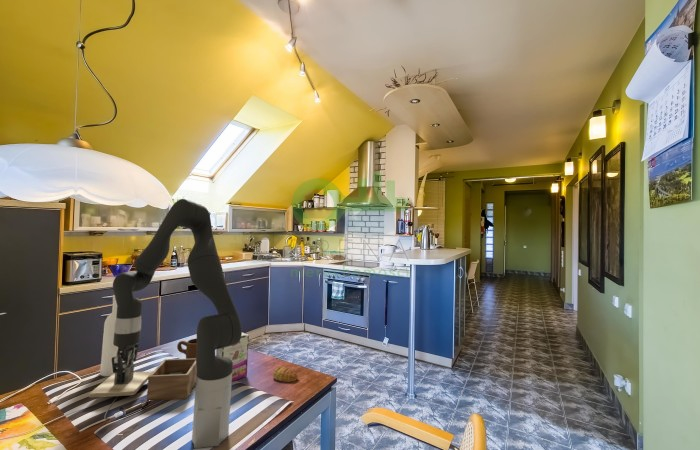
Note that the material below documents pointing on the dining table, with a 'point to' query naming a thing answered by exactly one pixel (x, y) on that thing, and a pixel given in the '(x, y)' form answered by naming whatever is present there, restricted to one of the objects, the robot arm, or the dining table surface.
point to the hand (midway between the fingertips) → (123, 379)
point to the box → (172, 380)
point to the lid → (127, 388)
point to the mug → (188, 348)
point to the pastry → (285, 374)
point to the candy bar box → (237, 356)
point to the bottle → (109, 342)
